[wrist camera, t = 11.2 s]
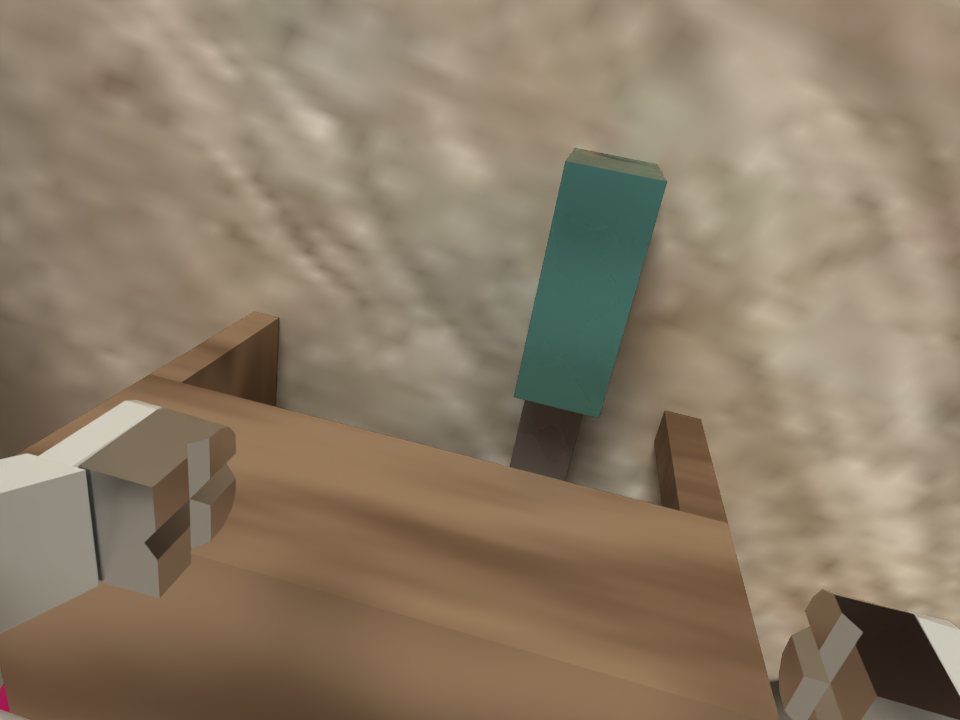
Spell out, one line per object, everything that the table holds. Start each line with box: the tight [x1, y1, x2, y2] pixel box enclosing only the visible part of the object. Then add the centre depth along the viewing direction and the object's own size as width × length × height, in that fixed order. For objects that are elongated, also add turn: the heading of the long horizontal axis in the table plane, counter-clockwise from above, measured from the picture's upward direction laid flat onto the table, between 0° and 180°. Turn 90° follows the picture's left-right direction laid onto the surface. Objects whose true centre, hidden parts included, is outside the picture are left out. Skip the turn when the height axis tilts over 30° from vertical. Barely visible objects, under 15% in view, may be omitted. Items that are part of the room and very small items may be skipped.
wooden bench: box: [0, 312, 779, 720], centre depth 23 cm, size 10×20×14 cm, turn 80°
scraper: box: [510, 148, 667, 481], centre depth 25 cm, size 20×6×5 cm, turn 170°
